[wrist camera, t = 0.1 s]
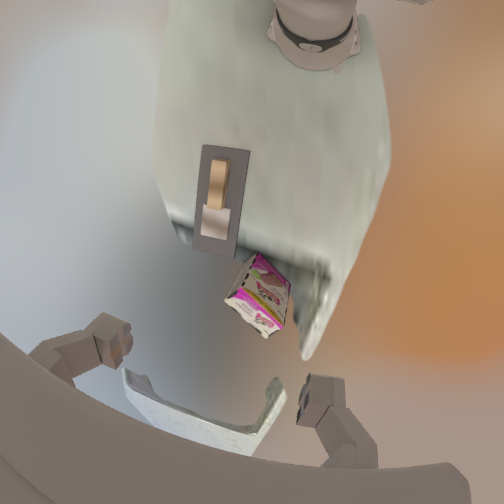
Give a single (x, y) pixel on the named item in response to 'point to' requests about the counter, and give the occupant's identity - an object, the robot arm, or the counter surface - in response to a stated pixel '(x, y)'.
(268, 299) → the candy bar box
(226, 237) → the wooden handled scraper
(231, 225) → the mat
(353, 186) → the counter surface
